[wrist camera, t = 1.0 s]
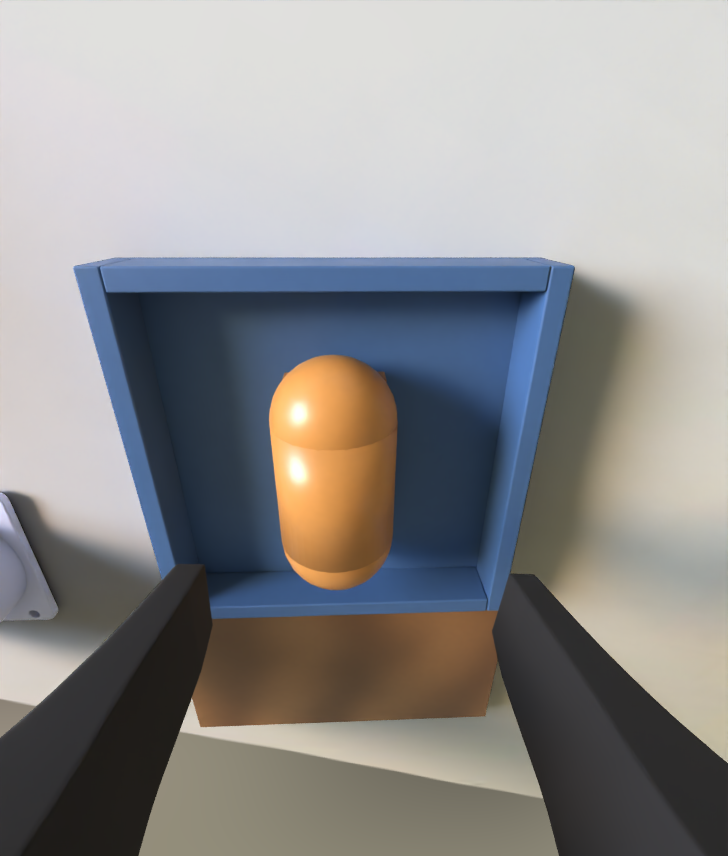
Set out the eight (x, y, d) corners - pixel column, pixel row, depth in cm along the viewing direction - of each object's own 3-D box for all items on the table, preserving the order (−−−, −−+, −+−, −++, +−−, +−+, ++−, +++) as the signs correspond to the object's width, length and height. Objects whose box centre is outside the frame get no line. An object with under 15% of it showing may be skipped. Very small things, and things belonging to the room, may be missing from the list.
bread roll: (292, 538, 21) (279, 617, 17) (273, 339, 16) (249, 382, 12) (386, 535, 21) (396, 614, 17) (393, 338, 17) (408, 381, 13)
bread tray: (191, 577, 22) (172, 621, 20) (114, 257, 15) (71, 265, 13) (486, 569, 23) (503, 611, 21) (541, 257, 16) (576, 265, 14)
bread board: (205, 711, 28) (200, 727, 27) (174, 600, 23) (167, 616, 22) (481, 700, 28) (485, 716, 27) (503, 591, 24) (510, 606, 23)
